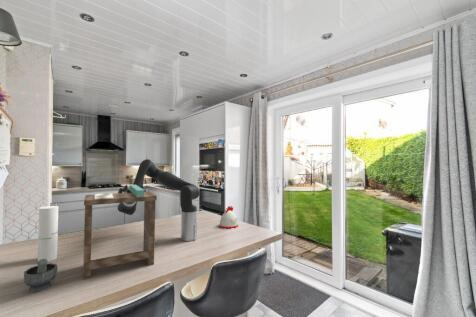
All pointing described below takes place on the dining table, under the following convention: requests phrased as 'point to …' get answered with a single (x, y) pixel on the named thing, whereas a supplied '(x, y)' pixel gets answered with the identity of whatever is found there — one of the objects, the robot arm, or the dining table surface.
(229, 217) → the kitchen timer
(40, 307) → the dining table surface
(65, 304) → the dining table surface
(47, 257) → the cylindrical container
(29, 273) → the mortar and pestle
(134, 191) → the teal square bar
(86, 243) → the stand
